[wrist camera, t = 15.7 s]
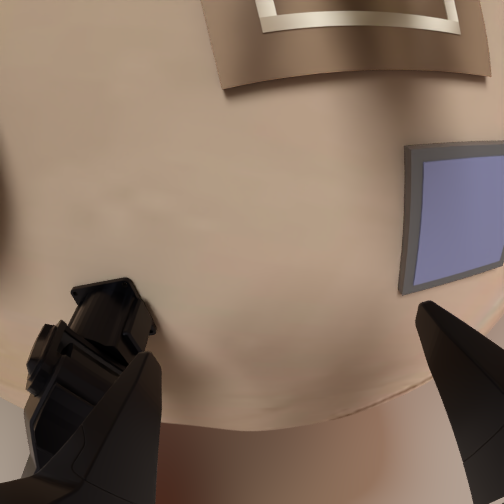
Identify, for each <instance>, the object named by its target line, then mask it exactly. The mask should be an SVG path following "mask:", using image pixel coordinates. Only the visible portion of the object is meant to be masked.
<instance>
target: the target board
mask: <svg viewBox="0 0 504 504" xmlns="http://www.w3.org/2000/svg"><path fill="white" fill-rule="evenodd" d="M201 4H202V8H203V12H204V16H205V21H206V25H207V29H208V33H209V37H210V41H211V45H212V50H213V54H214V58H215V62H216V66H217V71H218V75H219V79H220V83H221V87H222V89H226V88H231V87H236V86H240V85H245V84H251V83H256V82H262V81H267V80H273V79H280V78H287V77H294V76H302V75H310V74H319V73H330V72H343V71H360V70H427V71H443V72H455V73H465V74H474V75H481V76H488V77H491V66H490V57H489V49H488V42H487V35H486V29H485V24H484V19H483V14H482V9H481V5H480V0H201Z"/></svg>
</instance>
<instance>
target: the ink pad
mask: <svg viewBox="0 0 504 504" xmlns="http://www.w3.org/2000/svg"><path fill="white" fill-rule="evenodd" d="M404 152H405V203H404V226H403V242H402V254H401V265H400V274H399V283H398V290H399V291H400V293H401V295H406V294H410V293H414V292H418V291H421V290H425V289H429V288H432V287H436V286H439V285H443V284H446V283H450V282H453V281H456V280H460V279H463V278H466V277H470V276H473V275H476V274H479V273H482V272H485V271H488V270H491V269H495V268H498V267H500V266H503V263H504V141H469V142H449V143H433V144H420V145H409V146H404Z"/></svg>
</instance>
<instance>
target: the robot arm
mask: <svg viewBox="0 0 504 504" xmlns="http://www.w3.org/2000/svg"><path fill="white" fill-rule="evenodd" d="M124 283H126V284H127V285H126V284H124ZM71 295H72V296H73V298H74V300H75V301H76V303H77V304H78V306H77V308H76V310H75V312H74V314H73V316H72V318H71V320H70V322H69V324H68V326H67V324H66V323H65V322H64V321H63V320H60V321H59V322H58V324H57V325H56V326H55V325H49V324H45V325H44V326H43V328H42V329H41V331H40V333H39V335H38V337H37V339H36V341H35V343H34V345H33V347H32V350H31V353H30V355H29V358H28V361H27V364H26V365H27V369H28V377H27V384H26V390H27V391H29V392H30V393H31V394H30V396H29V399H28V401H27V403H26V406H25V408H24V419H25V426H26V433H27V439H28V444H29V450H30V455H29V458H28V460H27V463H26V466H25V469H24V471H23V474H22V477H21V479H17V480H13V481H9V482H4V483H0V504H155V496H156V477H157V460H158V446H159V434H160V423H161V412H162V371H161V367H160V365H159V363H158V362H157V360H156V359H155V357H154V356H153V354H152V353H151V352H149V351H147V352H144V351H145V347H146V344H147V340H148V336H149V335H154V334H156V330H157V328H156V326H155V325H154V323H153V319H152V317H151V316H150V314H149V312H148V310H147V308H146V306H145V304H144V303H143V301H142V300H141V299H140V297H139V295H138V293H137V291H136V289H135V288H134V286H133V284H132V282H131V280H130V279H128V278H119V279H113V280H108V281H103V282H97V283H92V284H87V285H81V286H76V287H73V288H72V290H71ZM415 324H416V328H417V331H418V334H419V337H420V341H421V344H422V347H423V350H424V354H425V357H426V360H427V363H428V366H429V369H430V371H431V373H432V376H433V378H434V381H435V383H436V386H437V388H438V390H439V393H440V396H441V399H442V401H443V404H444V407H445V409H446V412H447V415H448V418H449V421H450V423H451V426H452V429H453V432H454V435H455V438H456V441H457V444H458V448H459V451H460V454H461V457H462V461H463V465H464V468H465V472H466V476H467V479H468V483H469V487H470V491H471V495H472V499H473V504H489V503H491V502H493V501H496V500H498V499H500V498H502V497H504V349H502V348H501V347H499V346H498V345H497V344H495V343H494V342H492V341H491V340H489V339H488V338H486V337H485V336H484V335H482V334H481V333H479V332H478V331H476V330H475V329H473V328H472V327H470V326H469V325H468V324H466V323H465V322H463V321H462V320H460V319H459V318H457V317H456V316H454V315H453V314H451V313H450V312H448V311H446V310H445V309H443V308H442V307H440V306H439V305H437V304H436V303H434V302H433V301H425V302H422V303H420V304H419V306H418V311H417V315H416V320H415ZM502 504H504V503H502Z"/></svg>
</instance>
